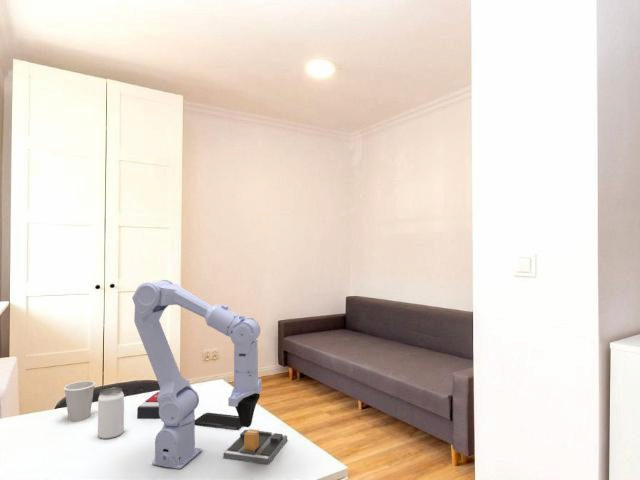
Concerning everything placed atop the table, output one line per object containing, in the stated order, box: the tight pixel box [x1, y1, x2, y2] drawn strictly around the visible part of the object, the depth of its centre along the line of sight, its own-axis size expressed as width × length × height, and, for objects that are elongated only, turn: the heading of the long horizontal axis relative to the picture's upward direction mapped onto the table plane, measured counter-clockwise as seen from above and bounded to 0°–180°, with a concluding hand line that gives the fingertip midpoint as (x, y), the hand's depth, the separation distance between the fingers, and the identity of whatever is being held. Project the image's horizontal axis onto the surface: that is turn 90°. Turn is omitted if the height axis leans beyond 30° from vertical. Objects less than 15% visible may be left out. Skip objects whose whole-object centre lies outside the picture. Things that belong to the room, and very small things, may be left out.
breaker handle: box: [244, 428, 260, 451], centre depth 103 cm, size 3×3×4 cm
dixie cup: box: [63, 380, 96, 422], centre depth 126 cm, size 8×8×10 cm
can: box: [97, 387, 125, 440], centre depth 115 cm, size 6×6×12 cm
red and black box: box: [136, 391, 161, 420], centre depth 133 cm, size 11×4×15 cm
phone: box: [195, 412, 243, 431], centre depth 122 cm, size 8×1×15 cm
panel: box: [222, 429, 288, 465], centre depth 106 cm, size 13×12×2 cm
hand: (245, 425), depth 100 cm, fingers closed
